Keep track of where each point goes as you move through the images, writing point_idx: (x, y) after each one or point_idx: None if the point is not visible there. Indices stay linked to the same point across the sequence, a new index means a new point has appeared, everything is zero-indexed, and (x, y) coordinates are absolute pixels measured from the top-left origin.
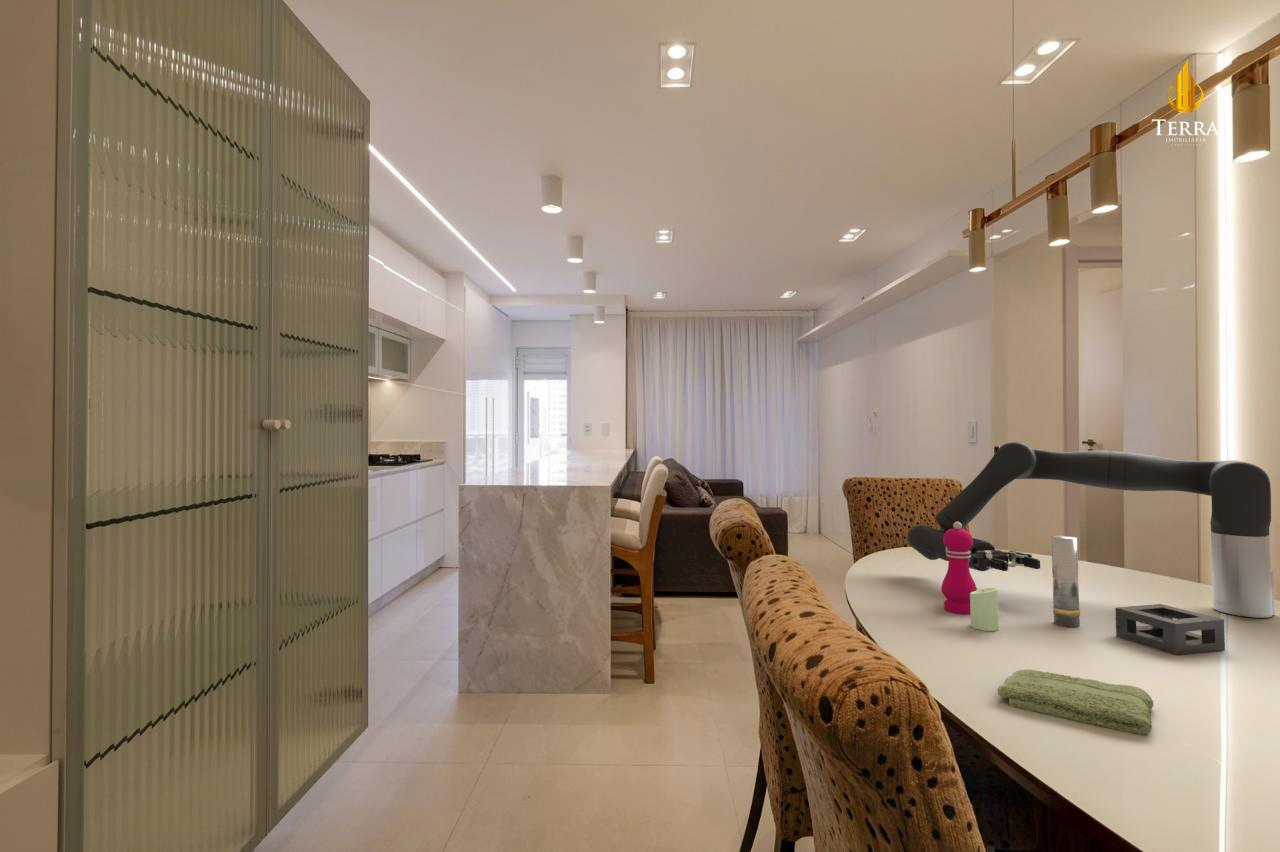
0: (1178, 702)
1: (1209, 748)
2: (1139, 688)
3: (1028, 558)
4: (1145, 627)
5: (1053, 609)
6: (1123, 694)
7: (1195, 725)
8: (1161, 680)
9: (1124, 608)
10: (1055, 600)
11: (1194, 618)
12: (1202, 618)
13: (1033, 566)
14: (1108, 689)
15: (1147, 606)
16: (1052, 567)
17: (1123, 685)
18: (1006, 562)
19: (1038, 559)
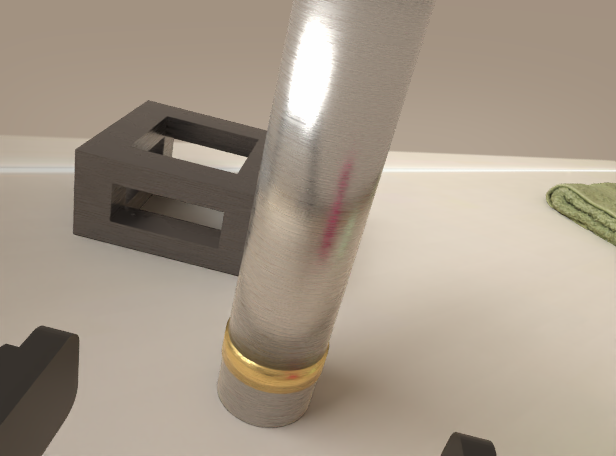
0: (491, 190)
1: (556, 174)
2: (567, 184)
3: (3, 425)
4: (164, 225)
5: (318, 370)
6: (601, 191)
7: (527, 180)
8: (441, 204)
9: (251, 187)
10: (333, 325)
11: (196, 121)
12: (180, 115)
13: (51, 426)
14: (611, 200)
15: (156, 163)
16: (366, 190)
17: (581, 193)
18: (468, 435)
19: (41, 327)
